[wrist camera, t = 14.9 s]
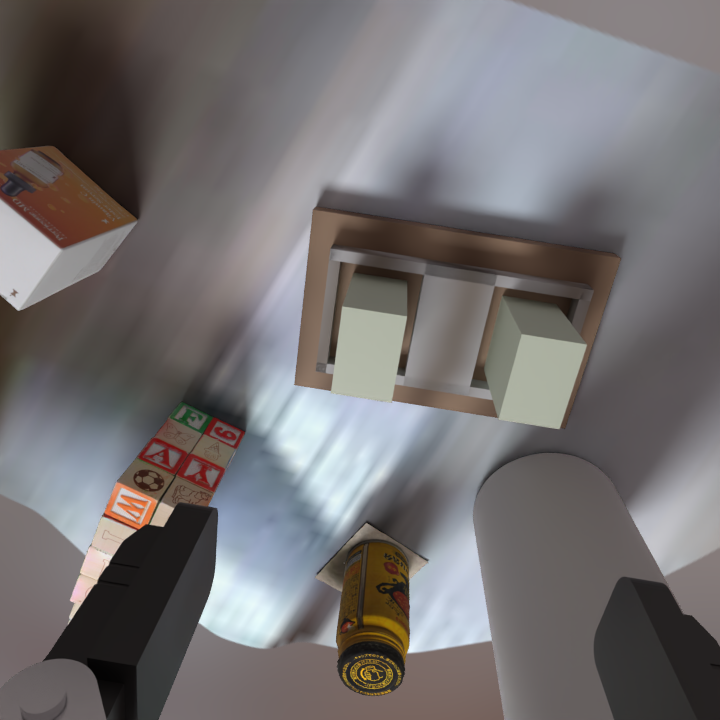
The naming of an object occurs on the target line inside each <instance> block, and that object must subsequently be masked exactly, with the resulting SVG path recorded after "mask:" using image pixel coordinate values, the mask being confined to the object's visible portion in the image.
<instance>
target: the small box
mask: <svg viewBox="0 0 720 720" xmlns="http://www.w3.org/2000/svg"><path fill="white" fill-rule="evenodd" d="M137 222H138V220H137V219H136V218H135V217H134V216H133V215H132V214H130V213H129V212H128V211H127V210H125V209H124V208H123V207H122V206H121V205H119V204H118V203H117V202H116V201H115V200H114V199H113V198H111V197H110V196H109V195H108V194H107V193H106V192H105V191H103V190H102V189H101V188H100V187H99V186H98V185H97V184H96V183H95V182H93V181H92V180H91V179H90V178H89V177H88V176H87V175H86V174H84V173H83V172H82V171H81V170H80V169H79V168H78V167H77V166H75V165H74V164H73V163H72V162H71V161H70V160H69V159H68V158H66V157H65V156H64V155H63V154H62V153H61V152H60V151H59V150H58V149H57V148H55V147H54V146H42V147H31V148H20V149H9V150H0V295H1V296H2V297H3V298H5V299H6V301H8V302H9V303H10V304H11V305H12V306H13V307H15V308H16V309H17V310H22V309H25V308H26V307H29V306H30V305H32V304H35V303H37V302H39V301H41V300H43V299H45V298H46V297H48V296H50V295H52V294H54V293H56V292H58V291H60V290H62V289H64V288H66V287H68V286H70V285H72V284H74V283H76V282H78V281H80V280H82V279H84V278H86V277H88V276H90V275H92V274H94V273H96V272H98V271H100V270H101V269H102V267H103V266H104V265H105V263H106V262H107V261H108V260H109V258H110V257H111V256H112V254H113V253H114V252H115V251H116V249H117V248H118V247H119V245H120V244H121V243H122V242H123V240H124V239H125V238H126V236H127V235H128V234H129V232H130V231H131V230H132V229H133V227H134V226H135V225H136V223H137Z"/></svg>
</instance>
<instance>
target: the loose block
mask: <svg viewBox="0 0 720 720" xmlns="http://www.w3.org/2000/svg"><path fill="white" fill-rule="evenodd" d="M406 320H407V281H405V280H398V279H392V278H385V277H379V276H372V275H366V274H359V273H353V276H352V279H351V282H350V285H349V288H348V291H347V294H346V297H345V300H344V303H343V306H342V312H341V320H340V328H339V335H338V343H337V350H336V358H335V365H334V373H333V381H332V388H331V393H333V394H339V395H346V396H352V397H358V398H365V399H371V400H377V401H384V402H390V403H392V397H393V392H394V386H395V381H396V375H397V370H398V364H399V359H400V353H401V348H402V342H403V337H404V331H405V326H406Z"/></svg>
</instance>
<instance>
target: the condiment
mask: <svg viewBox="0 0 720 720" xmlns="http://www.w3.org/2000/svg"><path fill="white" fill-rule="evenodd" d="M344 563H345V564H344ZM427 563H428V562H427V561H426V560H424V559H423V558H421V557H419V556H418V555H417V554H415V553H414V552H412V551H411V550H409V549H408V548H406V547H405V546H403V545H402V544H400V543H399V542H397V541H395V540H394V539H392V538H390V537H389V536H387V535H386V534H384V533H382V532H380V531H378V530H377V529H375V528H374V527H372V526H370V525H369V524H368V523H366V524H365V525H364V526H363V527H362V528H361V529H360V530H359V531H358V532H357V533H356V534H355V535H354V536H353V537H352V538H351V539H350V540H349V541H348V542H347V543H346V545H345V546H343V548H342V549H341V550H340V551H339V552H338V553H337V555H336V556H335V557H334V558H333V559H332V560H331V561H330V562H329V563H328V564H327V565H326V566H325V567H324V568H323V569H322V571H321V572H320V573H319V574H318V575H317V576H316V577H315V578H317V579H318V580H320V581H323V582H325V583H326V584H328V585H330V586H332V587H333V588H335V589H337V590H339V591H341V592H342V595H341V602H340V611H339V619H338V626H337V634H336V643H337V646H338V656H339V660H338V661H337V662H338V665H337V668H338V673H339V676H340V678H341V680H342V681H343V683H344V684H345V686H347V687H348V688H349V689H351V690H353V691H354V692H357V693H360V694H362V695H368V696H379V695H384V694H388V693H390V692H392V691H394V690H395V689H396V688H398V686H400V684H401V683H402V680H403V677H404V674H405V673H404V671H405V667H404V665H405V658H406V654H407V651H408V649H409V639H410V638H409V635H410V629H409V609H410V605H409V580H410V578H411V577H413V576H414V575H415V574H416V573H417V572H418V571H419V570H420V569H421V568H422V567H423V566H424V565H425V564H427Z"/></svg>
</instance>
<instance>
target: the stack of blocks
mask: <svg viewBox="0 0 720 720" xmlns="http://www.w3.org/2000/svg"><path fill="white" fill-rule="evenodd" d="M244 435H245V432H244V431H242V430H240V429H238V428H236V427H234V426H232V425H230V424H228V423H226V422H223V421H221V420H219V419H217V418H215V417H212V416H210V415H208V414H206V413H204V412H202V411H199V410H197V409H195V408H193V407H191V406H189V405H187V404H185V403H183V402H181V403H180V404H179V405H178V406H177V408H176V409H175V410H174V411H173V412H172V413H171V415H170V416H169V417H168V419H167V421H166V422H165V424H164V425H163V426H162V427H161V428H160V430H159V431H158V432H157V434H156V435H155V437H153V438H151V440H150V441H149V442H148V443H147V444H146V446H145V447H144V448H143V449H142V451H141V452H140V453H139V455H138V456H137V457H136V459H135V460H134V461H133V463H132V464H131V465H130V466H129V467H128V468H127V470H126V471H125V472H124V473H123V474H122V476H121V477H120V478H119V479H118V480H117V482H116V484H115V486H114V489H113V492H112V494H111V497H110V499H109V502H108V504H107V507H106V509H105V512H104V514H103V515H102V517H101V519H100V522H99V525H98V527H97V530H96V533H95V535H94V538H93V541H92V544H91V545H90V546H89V549H88V551H87V554H86V557H85V559H84V562H83V565H82V568H81V570H80V575H79V577H78V580H77V582H76V585H75V588H74V590H73V593H72V596H71V599H70V601H72V602H74V606H73V608H72V611H71V613H70V616H69V618H70V620H69V622H70V621H71V619H72V618H73V616H74V615H75V613H76V612H77V610H78V609H79V607H80V606H81V604H82V603H83V601H84V600H85V598H86V597H87V595H88V593H89V592H90V590H91V589H92V587H93V586H94V584H97V581H98V578H99V577H100V575H101V574H102V572H103V571H104V569H105V568H106V566H108V565H109V562H110V560H111V559H112V557H113V556H114V554H115V553H116V551H117V550H118V548H119V547H120V545H121V543H122V542H123V541H124V540H125V539H126V538H128V537H129V536H130V535H132V534H133V533H134V532H136V531H137V530H139V529H140V528H141V527H143V526H144V525H145V524H149V525H155V526H161V527H164V525H165V523H166V522H167V520H168V518H169V517H170V515H171V513H172V511H173V510H174V508H175V506H176V505H177V504H178V503H179V502H183V503H189V504H195V505H201V506H207V507H208V505H209V503H210V501H211V499H212V497H213V495H214V493H215V491H216V489H217V487H218V485H219V483H220V481H221V479H222V477H223V475H224V473H225V472H226V470H227V468H228V466H229V464H230V462H231V460H232V458H233V456H234V454H235V453H236V451H237V449H238V446H239V444H240V442H241V440H242V439H243V437H244ZM69 622H68V624H69ZM68 624H67V625H68Z"/></svg>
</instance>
